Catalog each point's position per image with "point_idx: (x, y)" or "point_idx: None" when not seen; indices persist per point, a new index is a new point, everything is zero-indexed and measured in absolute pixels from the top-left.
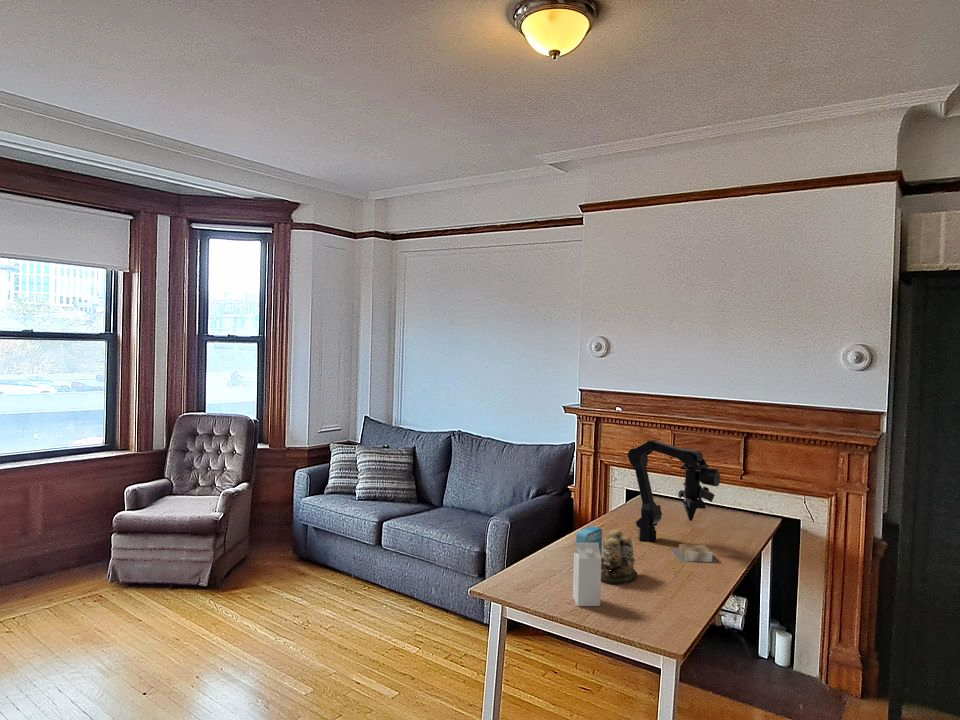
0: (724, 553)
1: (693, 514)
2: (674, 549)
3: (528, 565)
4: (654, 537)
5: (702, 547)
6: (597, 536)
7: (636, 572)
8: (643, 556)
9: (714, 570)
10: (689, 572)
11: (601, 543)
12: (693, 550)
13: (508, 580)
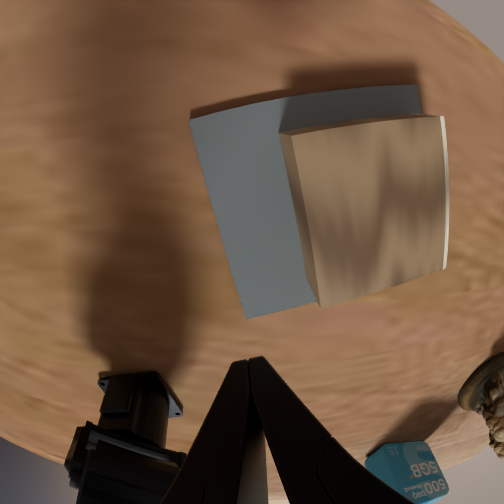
0: (185, 12)
1: (318, 429)
2: (246, 302)
3: None
4: (138, 390)
5: (358, 161)
6: (416, 489)
7: (497, 362)
8: (357, 386)
9: (480, 129)
10: (499, 232)
11: (394, 474)
12: (426, 227)
13: (458, 458)
